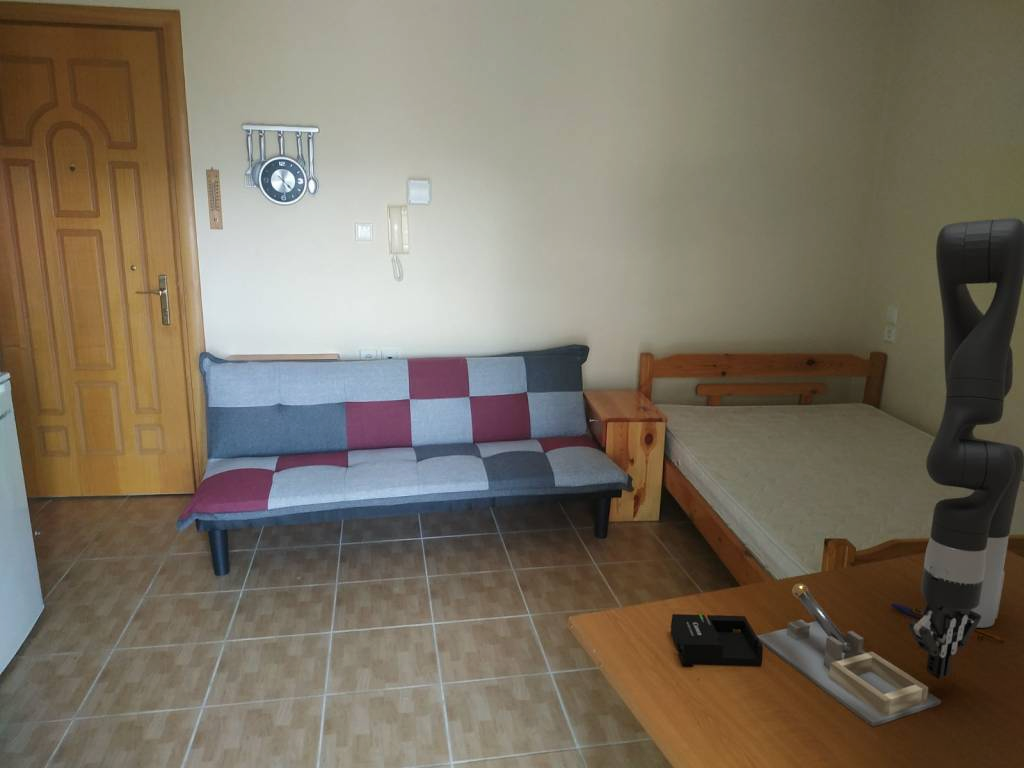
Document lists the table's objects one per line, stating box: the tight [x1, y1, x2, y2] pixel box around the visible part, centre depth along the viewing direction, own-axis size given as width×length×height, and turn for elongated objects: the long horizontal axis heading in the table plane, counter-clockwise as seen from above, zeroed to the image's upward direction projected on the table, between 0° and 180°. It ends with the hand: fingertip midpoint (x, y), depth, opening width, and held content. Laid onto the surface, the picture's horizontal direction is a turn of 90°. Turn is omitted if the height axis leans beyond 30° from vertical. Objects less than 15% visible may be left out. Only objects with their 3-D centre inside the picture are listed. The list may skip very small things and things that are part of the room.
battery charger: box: [670, 613, 764, 667], centre depth 117 cm, size 13×10×4 cm
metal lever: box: [791, 583, 851, 653], centre depth 116 cm, size 3×13×3 cm, turn 22°
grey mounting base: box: [756, 619, 942, 728], centre depth 112 cm, size 14×24×6 cm, turn 22°
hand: (937, 673), depth 106 cm, fingers closed
